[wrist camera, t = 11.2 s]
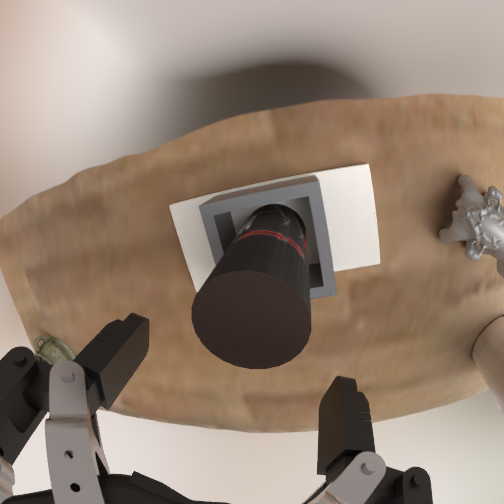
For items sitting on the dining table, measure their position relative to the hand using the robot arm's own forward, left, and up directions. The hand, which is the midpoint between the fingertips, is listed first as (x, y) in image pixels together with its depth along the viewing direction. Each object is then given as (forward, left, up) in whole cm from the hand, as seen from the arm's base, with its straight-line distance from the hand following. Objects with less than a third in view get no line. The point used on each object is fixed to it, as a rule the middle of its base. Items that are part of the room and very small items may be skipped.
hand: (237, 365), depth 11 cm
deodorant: (0, 0, -18) cm, 18 cm away
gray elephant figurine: (-22, -9, -19) cm, 30 cm away
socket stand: (0, 0, -19) cm, 19 cm away
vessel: (+33, +35, -19) cm, 52 cm away
